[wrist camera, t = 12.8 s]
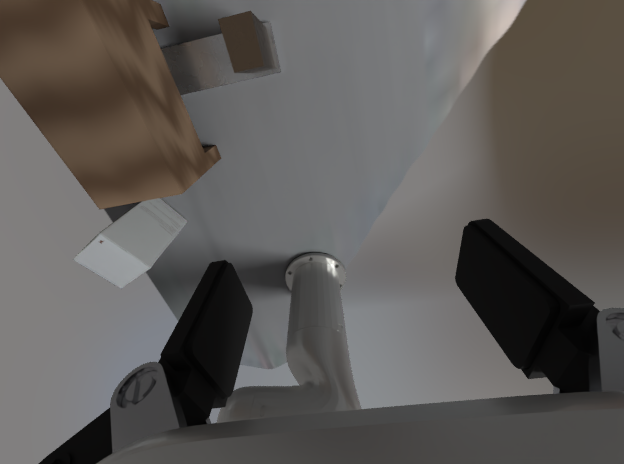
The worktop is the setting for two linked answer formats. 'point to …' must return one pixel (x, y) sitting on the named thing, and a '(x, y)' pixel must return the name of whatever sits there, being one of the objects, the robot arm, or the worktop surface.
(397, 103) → the worktop surface
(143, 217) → the supplement box
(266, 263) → the worktop surface
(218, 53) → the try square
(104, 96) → the cabinet
